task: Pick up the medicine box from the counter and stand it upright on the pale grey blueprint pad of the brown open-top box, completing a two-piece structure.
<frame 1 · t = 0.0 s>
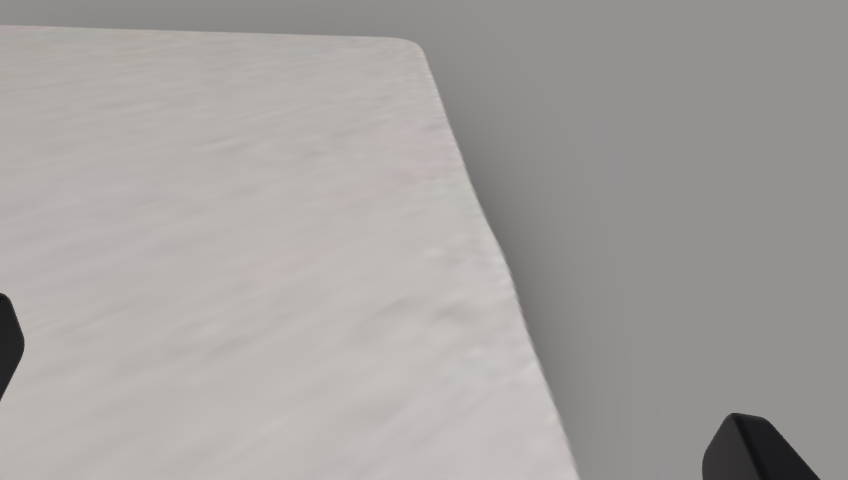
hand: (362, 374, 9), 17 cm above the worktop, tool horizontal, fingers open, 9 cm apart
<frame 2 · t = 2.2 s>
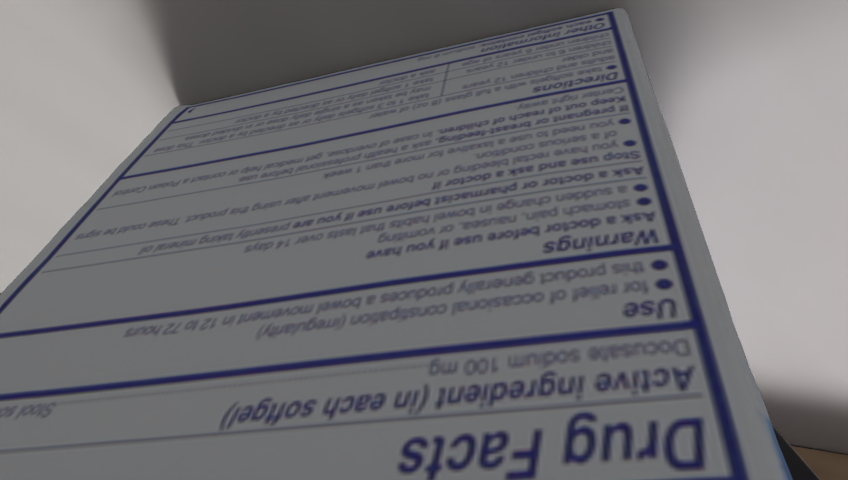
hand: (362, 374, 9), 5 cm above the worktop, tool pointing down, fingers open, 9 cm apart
medicine box: (417, 156, 13), on the worktop, touching gripper
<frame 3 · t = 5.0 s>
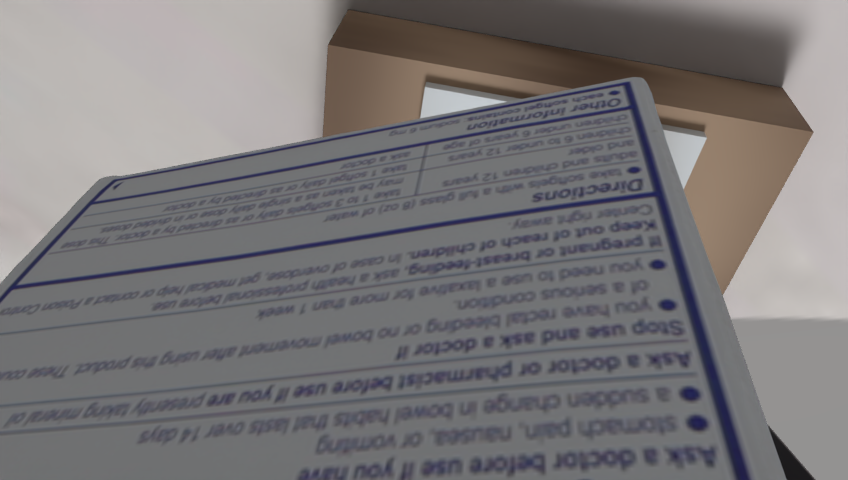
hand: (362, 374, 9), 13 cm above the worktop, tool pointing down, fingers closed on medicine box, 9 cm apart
brown open-top box: (516, 223, 22), on the worktop
medicine box: (392, 234, 11), point 10 cm above the worktop, touching gripper
when the fingers open (6 cm above the worktop, at t = 7.2 s): medicine box drops 1 cm, resting on brown open-top box.
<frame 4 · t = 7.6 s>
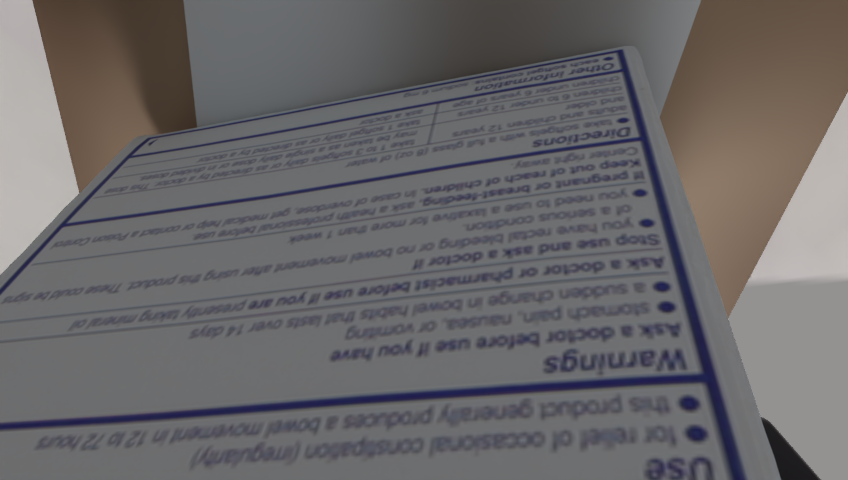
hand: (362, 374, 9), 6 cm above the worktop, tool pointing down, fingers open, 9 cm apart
brown open-top box: (426, 128, 14), on the worktop
medicine box: (402, 195, 12), point 3 cm above the worktop, touching gripper, brown open-top box
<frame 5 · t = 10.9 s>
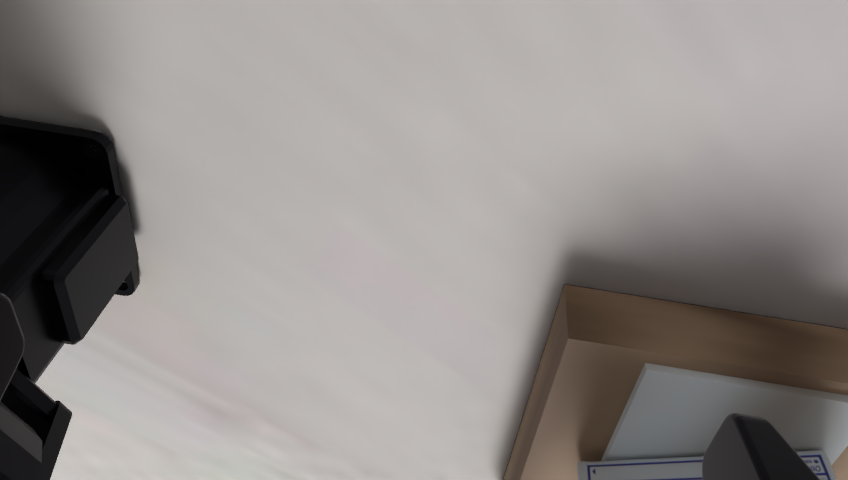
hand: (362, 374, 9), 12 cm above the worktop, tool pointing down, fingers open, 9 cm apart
brown open-top box: (683, 425, 26), on the worktop
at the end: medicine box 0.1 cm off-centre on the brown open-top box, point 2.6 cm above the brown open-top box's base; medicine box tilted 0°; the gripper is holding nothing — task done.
